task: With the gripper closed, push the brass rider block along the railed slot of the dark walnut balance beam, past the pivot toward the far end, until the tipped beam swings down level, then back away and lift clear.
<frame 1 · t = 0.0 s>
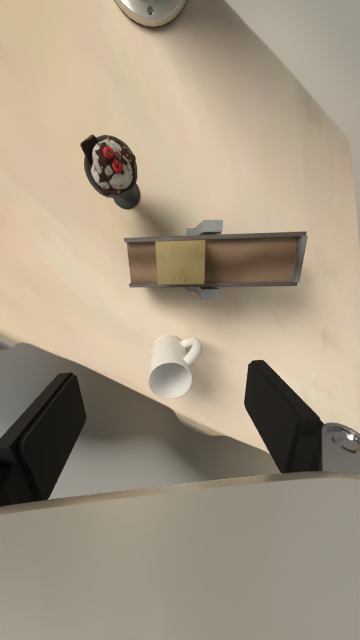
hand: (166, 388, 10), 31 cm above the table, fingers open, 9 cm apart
mug: (175, 344, 44), on the table
pivot stand: (201, 261, 38), on the table
rider: (183, 262, 31), point 7 cm above the table, tilted 10°, touching beam
beam: (209, 261, 32), point 6 cm above the table, hinge at 10.4°, touching rider
sundae: (126, 193, 34), on the table
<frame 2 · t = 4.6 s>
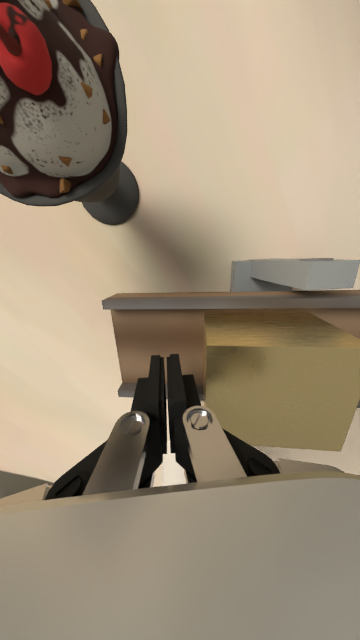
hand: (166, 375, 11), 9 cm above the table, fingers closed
mug: (200, 443, 27), on the table
pivot stand: (255, 316, 20), on the table
rider: (251, 351, 14), point 7 cm above the table, tilted 10°, touching beam, gripper
beam: (293, 341, 15), point 6 cm above the table, hinge at 10.4°, touching rider
sundae: (110, 192, 16), on the table
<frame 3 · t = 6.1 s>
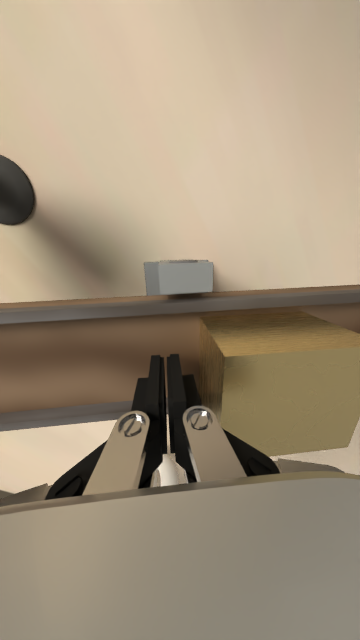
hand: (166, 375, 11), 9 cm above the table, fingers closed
mug: (140, 447, 26), on the table
pivot stand: (178, 319, 20), on the table
rider: (247, 354, 13), point 8 cm above the table, touching beam
beam: (184, 345, 14), point 6 cm above the table, hinge at -0.5°, touching rider
sundae: (4, 191, 15), on the table
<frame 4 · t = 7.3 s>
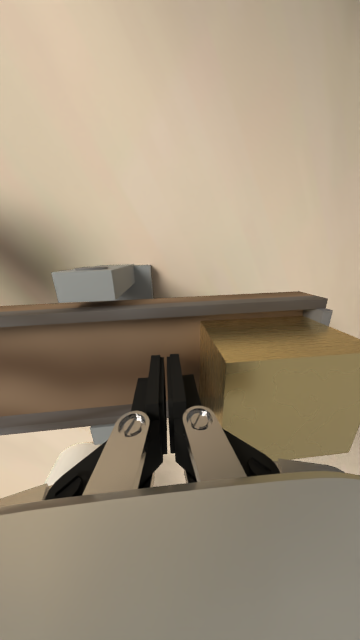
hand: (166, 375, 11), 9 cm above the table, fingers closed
mug: (100, 454, 25), on the table
pivot stand: (126, 324, 20), on the table
rider: (248, 358, 13), point 8 cm above the table, touching beam, gripper
beam: (110, 354, 14), point 6 cm above the table, hinge at -0.7°, touching rider
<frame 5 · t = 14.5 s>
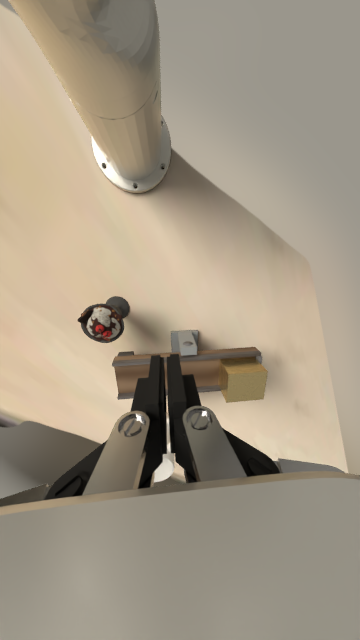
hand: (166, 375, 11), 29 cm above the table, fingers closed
mug: (163, 417, 50), on the table
pivot stand: (184, 354, 44), on the table
rider: (235, 370, 37), point 8 cm above the table, touching beam
beam: (187, 369, 38), point 6 cm above the table, hinge at -0.8°, touching rider
sundae: (118, 307, 39), on the table
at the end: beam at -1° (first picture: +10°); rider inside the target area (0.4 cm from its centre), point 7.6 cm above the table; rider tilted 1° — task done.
